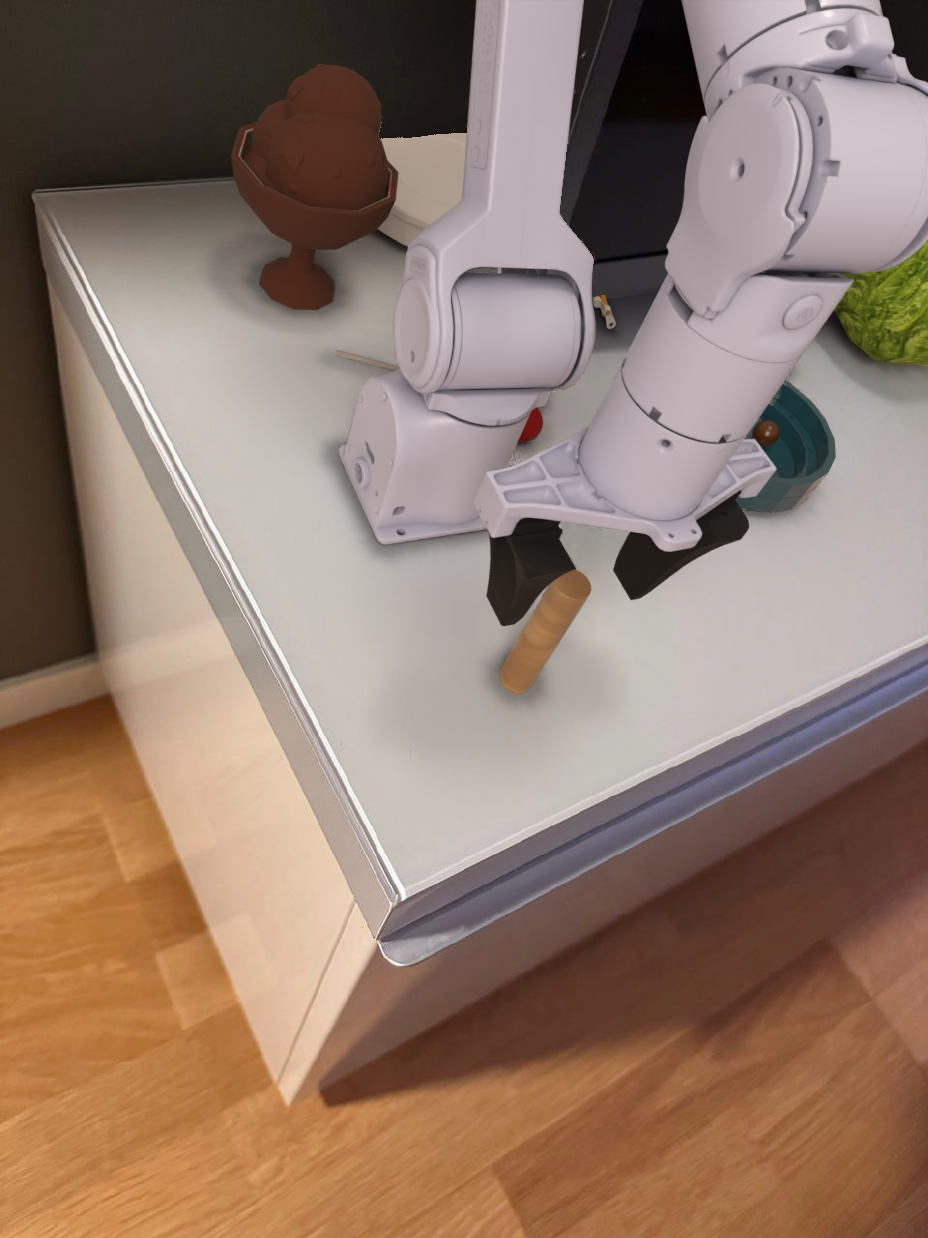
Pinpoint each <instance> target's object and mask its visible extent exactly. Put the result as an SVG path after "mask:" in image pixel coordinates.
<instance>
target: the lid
mask: <svg viewBox="0 0 928 1238" xmlns="http://www.w3.org/2000/svg"><path fill="white" fill-rule="evenodd" d="M466 136H467V133H451V134H450V133H449V134H436V135H435V134H434V135H428V136H421V137H412V138H403V137H401V138H400V137H399V138H398V137H397V138H383V139H382V138H381V141H382V144H383V147H384V150H385V153H386V156H387V160H388V161H389V162H390V163H391V165H392V166H393V167H394V168H395V169H396V170H397V171H398V172H399V173H398V184H397V194H396V201H395V203H394V205H393V207H392V209H391V211H390V213H389V215H388V218H387V219H386V220H385V221H384V222H383V223H382V224H381V226H380V227H379V228H378V229H377V230H378V231H379V232H381V233H382V234H384V235H386V236H387V237H389V238H391V239H392V240H394V241H396V242H397V243H399V244H401V245H402V246H405V247H407V248H408V243H409V241H410V240H411V239H412V238H413V237H415V236H416V235H417V234H418V233H419V232H420V231H422V230H423V229H425V228H426V227H427V226H429V225H430V224H432V223H433V222H434V221H436V220H437V219H438V218H440V217H441V216H442V215H443V214H445V213H446V212H447V211H449V210H450V209H451V208H453V207H454V206H455V205H456V204H457V203H458V202H459V201H460V200H461V199H462V192H463V178H464V164H465V150H466Z"/></svg>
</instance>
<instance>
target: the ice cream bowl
mask: <svg viewBox="0 0 928 1238" xmlns="http://www.w3.org/2000/svg"><path fill="white" fill-rule="evenodd" d="M381 118H382V103H381V101H380V100H379V98H378V94H377V93H376V91H375V89H374V88H373V87H372V86H371V84H370V83H369V81H368V80H367V79H366V77H363V76H362V75H361V74H360V73H358V72H356V71H355V70H354V69H351V68H349V67H345V66H341V65H337V64H335V65H334V64H323V63H319V64H316V65H315V66H314V68H310V69H309V70H307V71H306V72H305V73H304V74H303V75H300V76H298V77H296V78H294V80H292V82H291V83H290V85H289V86H288V89H287V92H286V97H285V99H283V100H278V101H277V102H274V103H273V104H269V105H267V106H266V107H265V108H264V110H263V112H261V114H260V115H259V117H258V118H257V121H256V122H252V123H250V124H246V125H244V126H240V127H239V128H238V130H237V134H236V137H235V139H234V144H233V148H232V151H231V153H230V159H231V166H232V176H233V180H234V181H235V184H236V188H237V190H238V192H239V194H240V197H241V198H242V199H243V200H244V202H245V203H246V204H247V205H248V206H249V208H250V209H251V210H252V212H253V213H254V214H255V215H256V216H257V217H258V219H259V220H260V221H261V222H262V224H263V225H264V226H265V227H266V228H267V229H268V231H269V232H270V233H271V234H272V235H275V236H276V237H278V238H280V239H282V240H283V241H286V242H288V243H290V244H291V250H290V255H289V257H288V256H284V257H283V256H280V257H278V258H275V259H274V260H271V261H269V262H266V263H265V264H264V265H263V267H262V270H261V274H260V278H259V281H258V282H259V283H258V284H259V286H260V287H261V288H262V290H263V291H264V293H265V294H266V295H267V296H268V297H269V299H270V300H272V301H275V302H276V303H278V304H281V305H283V306H284V307H285V306H286V307H287V308H290V309H292V310H307V311H318V310H320V309H321V308H323V307H325V306H328V305H330V304H331V303H333V302H334V294H335V281H334V280H333V279H332V277H331V276H330V275H329V274H328V272H327V271H326V270H325V269H324V268H323V266H321V265H318V264H316V263H315V262H314V261H315V255H316V251H317V250H320V251H334V250H335V251H337V250H339V249H340V248H343V247H346V246H347V245H349V244H351V243H354V242H356V241H358V240H360V239H362V238H363V237H366V236H368V235H370V234H372V233H374V232H377V230H378V228H379V227H380V226H381V224H382V223H383V222H384V221H385V220H386V219H387V218H388V215H389V213H390V211H391V209H392V207H393V205H394V203H395V201H396V194H397V184H398V173H399V172H398V171H397V170H396V169H395V168H394V167H393V166H392V165H391V163H390V162H389V161H388V160H387V156H386V153H385V150H384V147H383V144H382V141H381V139H380V138H379V136H378V135H379V132H380V128H381V123H382V122H381Z"/></svg>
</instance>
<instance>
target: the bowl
mask: <svg viewBox="0 0 928 1238" xmlns="http://www.w3.org/2000/svg"><path fill="white" fill-rule="evenodd" d="M763 420H771V421H773V422H775V423H776V424H777V425H778V427H779V429H780V436H779V438H778V440H777V441H776V443H774V444H773V445H771V446H768V447H763V446H760V447H761V448H762V449H763V451H764V452H765V453H766V455H767V456H768V457H769V459H770V460H771V461H772V463H773V464H774V466H775V467H776V471H775V472H774V473H773V475H772V476H771V477H770V479H769V480H768V481H767V483H766V484H765V485H764V487H763V488H762V489H761V491H760V492H759V493H758V495H757V496H755V497H748V498H741V497H739V496H738V497H737V499H736V500H735V501H736V502H737V503H738V505H739V506H740V508H741V509H742V510H746V511H753V512H760V513H768V514H769V513H770V514H771V513H778V512H784V511H789V510H790V511H791V510H792V509H794V508H796V507H797V506H798V505H800V504H802V503H803V502H805V501H806V500H807V499H808V498H809V497H810V496H811V494H812V493H813V491H815V490H816V488H817V487H818V486H819V485H820V484H821V483H822V481H823V480H824V479H825V477H826V476H828V474H829V472H830V471H831V468H832V467H833V465H834V462H835V460H836V458H837V454H836V453H837V452H836V440H835V436H834V434H833V432H832V430H831V428H830V425H829V423H828V420H826V417H825V416H824V415H823V414H822V413H821V411H820V410H819V409H818V408H817V406H816V405H815V403H813V401H812V400H811V399H810V398H809V397H807V395H806V394H804V393H803V392H802V391H801V390H799V388H797V387H796V386H795V385H794V384H792V383H791V382H790V381H788V380H787V379H786V380H785V381H784V382H783V384H782V385H781V387H780V388H779V390H778V391H777V393H776V394H775V395H774V397H773V398H772V400H771V401H770V403H769V404H768V406H767V407H766V408H765V410H764V411H763V413H762V414H761V416H760V417H759V419H758V420H757V421H756V423H755V424H754V426H753V427H752V429H751V430H750V431H749V432H748V434H747V435H746V437H745V438H744V439H753V436H752V432H753V429H754V427H755V425H756V424H757V423H759V422H760V421H763Z"/></svg>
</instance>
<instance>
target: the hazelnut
mask: <svg viewBox="0 0 928 1238" xmlns="http://www.w3.org/2000/svg"><path fill="white" fill-rule="evenodd" d="M752 436H753V439H755V440H756V441H757V443H758V444H759V445H760V446H763V447H768V446H771V445H773V444H774V443H776V441H777V440H778V438H779V436H780V429H779V427H778V425H777V424H776V423H775V422H773V421H771V420H763V421H760V422H759V423H757V424H756V425H755V427H754V429H753V432H752Z"/></svg>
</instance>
